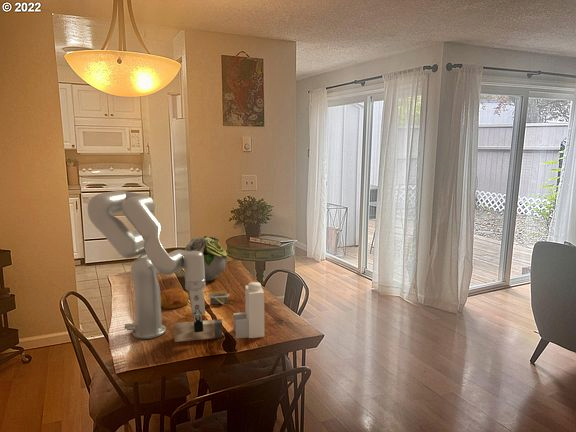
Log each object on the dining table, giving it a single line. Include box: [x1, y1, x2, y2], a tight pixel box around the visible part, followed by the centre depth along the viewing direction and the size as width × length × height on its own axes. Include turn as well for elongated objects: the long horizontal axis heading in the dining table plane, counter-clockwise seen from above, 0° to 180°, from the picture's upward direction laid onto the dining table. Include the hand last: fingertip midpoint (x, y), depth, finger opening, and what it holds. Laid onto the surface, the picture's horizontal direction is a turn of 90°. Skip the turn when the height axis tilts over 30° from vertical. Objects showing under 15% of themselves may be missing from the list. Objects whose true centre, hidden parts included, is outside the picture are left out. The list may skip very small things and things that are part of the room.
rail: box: [173, 318, 223, 343], centre depth 162 cm, size 18×4×6 cm, turn 104°
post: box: [233, 281, 265, 339], centre depth 166 cm, size 11×10×20 cm
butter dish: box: [207, 290, 230, 305], centre depth 197 cm, size 12×18×7 cm, turn 100°
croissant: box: [160, 287, 190, 310], centre depth 197 cm, size 14×16×8 cm
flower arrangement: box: [184, 235, 228, 282], centre depth 234 cm, size 25×25×24 cm
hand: (198, 326), depth 161 cm, fingers open, 9 cm apart
